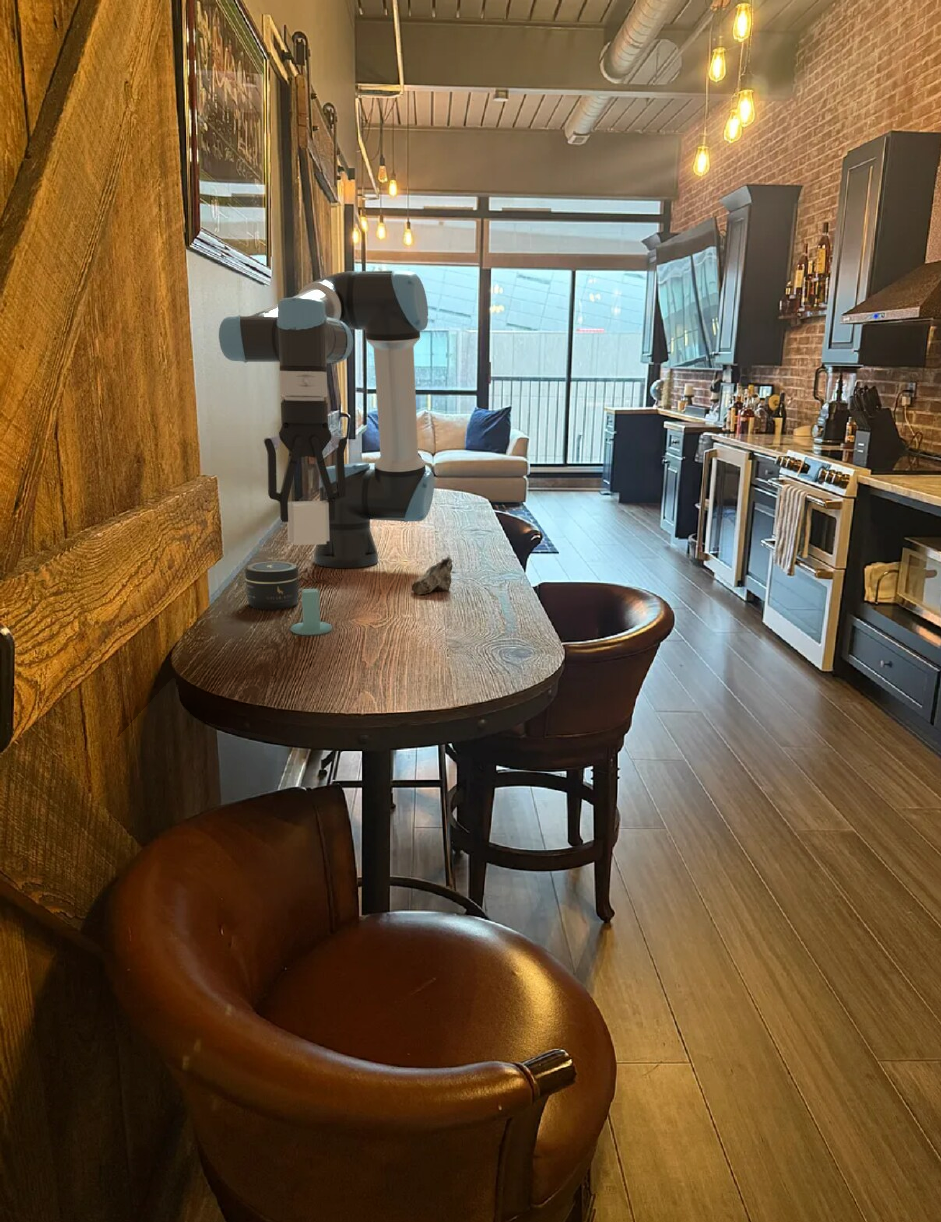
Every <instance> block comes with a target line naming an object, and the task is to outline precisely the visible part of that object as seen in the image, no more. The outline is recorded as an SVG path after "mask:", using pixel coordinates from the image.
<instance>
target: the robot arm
mask: <svg viewBox="0 0 941 1222" xmlns="http://www.w3.org/2000/svg"><path fill="white" fill-rule="evenodd" d="M428 316H429V306H428V300H427V294H426V291H425V287H424V285H423V282H422V280H421V278H420V277H419V276H418V275H417V273H415V272H413V271H406V270H405V271H404V270H396V269H394V270H369V271H368V270H367V271H365V270H364V271H363V270H360V271H358V270H357V271H356V270H348V271H346V270H345V271H342V272H341V271H340V272H337V273H333V274H330V275H327V276H324V277H322V278H320V279H316V280H315V281H312V282H310V283H307V284H306V285H305V286H303V287H302V288H301V289H300V291H299V292H298V294H296V295H294V296H292V297H283V298H281V299H280V300H279V301H278V303H276V304H274V305H272V306H270V307H268V308H266V309H263V310H262V311H260V312H257V313H254V314H252V315H245V316H243V315H237V316H226V317H225V318H223V319H222V320H221V323H220V325H219V329H218V340H219V342H218V343H219V346H220V351H221V352H222V354H223V356H224V357H225V358H226V359H228V360H229V361H232V362H244V363H257V362H258V363H261V362H262V363H279V392H280V393H279V394H280V396H281V397H283V400H281V402H280V415H281V416H280V417H281V418H280V420H281V427H280V430H279V432H278V434H277V435H274V436H270V437H265V438H264V439H263V445H264V447H265V449H266V452H267V455H266V456H267V495H268V497H269V499H271V500H274V501H277V502H279V512H280V513H279V517H280V520H281V523H286V527H287V528H286V529H287V530H286V531H287V540H288V542H289V543H293V542H294V530H293V503H292V502H293V501H291V500H289V497H290V493H291V489H292V484H293V481H294V478H295V477H294V476H295V473H296V468H297V464H298V462H299V458H305V457H309V458H313V459H314V462H315V464H316V469H317V471H318V475H319V480H318V481H319V485H318V487H317V488H318V490H319V491H318V492H319V493H318V494H319V501H322V502H323V503H324V504H325V514H326V544H317V545H315V548H314V551H313V563H314V564H315V565H317V566H319V567H320V566H321V567H323V568H324V567H325V568H333V569H334V568H336V569H353V568H355V569H356V568H364V567H369V566H373V565H375V564H378V562H379V551H378V549H377V547H376V544H375V541H374V537H373V534H372V532H371V520H374V521H392V522H394V521H395V522H403V523H408V522H422V521H423V520H425V519H426V518H427V516H428V515H429V512H430V510H431V507H432V504H433V503H432V502H433V498H434V491H435V475H434V472H432V471H430V470H426V469H427V467H426V460H424V459H423V458H422V457H420V455H419V446H418V445H419V444H418V425H417V424H418V420H417V397H416V377H415V375H416V373H415V353H414V352H415V350H414V347H415V345H416V344H417V342H419V341H420V340H421V332H422V331H424V330H426V328H427V327H428V323H429V322H428V321H429V318H428ZM351 330H360V331H361V330H363V331H365V332H364V334H365V340H366V341H367V343H368V344H369V345H370V346H372V348H373V361H374V375H375V378H374V379H375V388H376V389H375V391H376V406H377V408H376V409H377V419H378V420H377V421H378V422H377V423H378V437H379V439H378V440H379V453H380V455H379V458H378V459H377V460H376V461H375V462H374V469H371V465H370V463H369V462H353V463H352V462H351V463H345V450H346V447H347V445H348V441H347V439H346V438H344V437H342V436H341V437H339V436H337V435H336V436H335V435H333V434H332V432H331V431H330V428H329V407H328V405H329V404H328V402H327V401H326V400H325V398H326V397H328V375H327V372H328V368H327V366H328V365H329V364H331V365H335V364H338V363H342V362H343V361H344V360H346V359H347V358H348V357H349V356H350V355H351V353H352V350H353V347H354V336H353V334H352V331H351ZM280 442H281V443H282V444H283V446H285V448H286V449H287V451H288V452H289V454H288V457H287V462H286V467H285V472H284V476H283V480H282V484H281V489H280V492H278V490H277V489H278V488H277V487H278V485H277V483H278V482H277V480H278V479H277V476H278V475H277V453H276V450H278V449H279V448H280V447H279V444H280ZM330 442H331V447H332V449H334V465H330V466H327V465H326V462H325V457H324V454H323V451H324V450H325V448H326V447H327V446H328V444H329V443H330Z"/></svg>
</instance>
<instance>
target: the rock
mask: <svg viewBox="0 0 941 1222" xmlns="http://www.w3.org/2000/svg"><path fill="white" fill-rule="evenodd" d="M453 562H454V561H453V559H452V558H451V555H447V557H446V558H442V559H441V561H439V562H437V563H436V564H433V565H432V566H431V567H429V568H428V569H427V570H426V572H425V573H424V574H423V575H422V576H420V577H418V578H417V579H416V580H415V582H413V583H412V585H411V590H412V591H413V593H416V595H418V596H420V595H426V594H428V593H432V592H433V591H437V592H438V591H439V592H445V591H446V592H447V591H450V587H451V585H452V574H451V573H452V570H453V567H454V566H453Z"/></svg>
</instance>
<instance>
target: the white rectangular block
mask: <svg viewBox="0 0 941 1222" xmlns="http://www.w3.org/2000/svg"><path fill="white" fill-rule="evenodd" d="M291 502H292V503H293V530H294V542H292V544H293V545H294V546H316V545H317V544H326V514H325V504H324V503H323V502H322V501H320V500H305V501H304V500H303V501H291Z"/></svg>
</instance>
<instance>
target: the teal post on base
mask: <svg viewBox="0 0 941 1222" xmlns="http://www.w3.org/2000/svg"><path fill="white" fill-rule="evenodd" d="M301 600H302V601H301V603H302V607H301V608H302V622H297V623H295V624H292V625H291V626H290V631H291V632H292V634H294V635H299V636H320V635H326V634H327V633H330V632H332V630H333V626H332V624H330V623H328V622H325V621H321V620H320V619H321V618H320V592H319V590H318V588H303V589H301Z"/></svg>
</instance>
